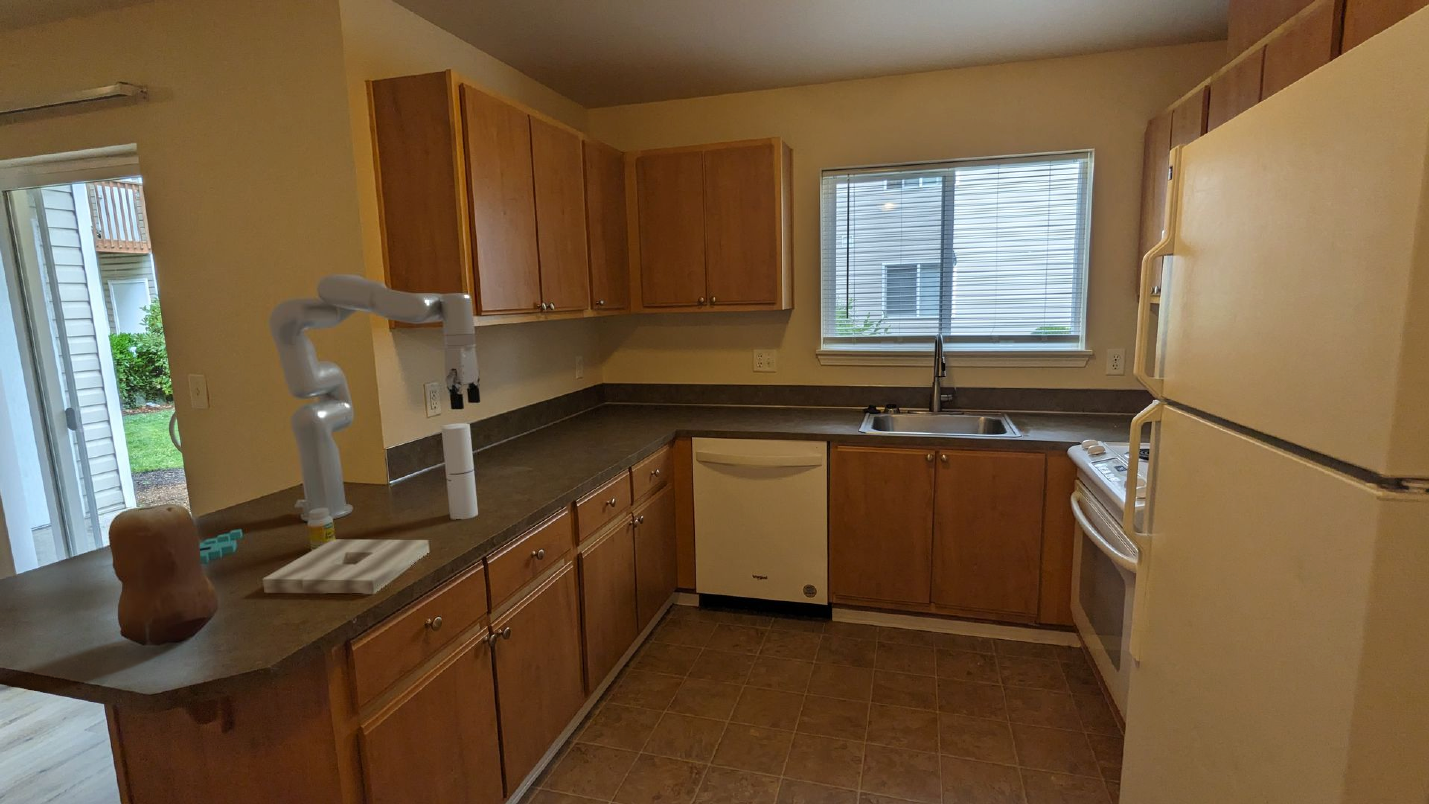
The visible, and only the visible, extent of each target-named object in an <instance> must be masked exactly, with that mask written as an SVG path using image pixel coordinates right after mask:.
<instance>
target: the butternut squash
mask: <svg viewBox="0 0 1429 804" xmlns="http://www.w3.org/2000/svg"><path fill="white" fill-rule="evenodd" d="M195 525H196V524H195V522H194V519H193V517H192V514H191V512H190V511H189V510H188V509H187V508H186V507H185V506H182V505H180V504H177V503H164V504H158V505H154V506H153V505H151V506H147V507H146V506H145V507H134V508H130V509H127V510H123V511H121V512H120V513H119V514H117V515H115V517H114V518H113V519H112V521H111V522H110V525H109V528H108V541H109V543H108V544H109V548H110V550H111V556H112V568H113V570H114V572H115V576H116V578H117V579H118V581H120V582H121V593H120V596H119V601H118V604H117V620H118V621H117V622H118V625H119V626H118V627H119V628H120V630H119V633H120V636H121V637H123V638H124V639H127V640H129V641H132V642H135V644H138V645H140V646H162V645H163V646H164V645H165V644H166V645H167V644H176V643H178V642H179V643H183V642H184V641H186V640H188V639H190V638H193V637H194V636H196V634H198V633H199V632H200V631H201V630H202V629H203V628H205V626H206V625H207V624H208V623H209V622H210V621H211V619H213V618H214V616H215V615H216V613H217V610H218V609H219V602H218V593H217V590H216V589H215V586H214V584H212V582H211V581H210V579H209V578H208V576H207V575H206V574H205V573H204V570H203V567H202V564H201V562H200V556H201V555H200V544H199V543H200V539H199V534H198V531H197V529H196V526H195ZM182 641H183V642H182Z"/></svg>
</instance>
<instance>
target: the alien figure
mask: <svg viewBox="0 0 1429 804" xmlns="http://www.w3.org/2000/svg"><path fill="white" fill-rule="evenodd" d="M242 531H243V530H242V529H241V528H240V529H233V530H230V532H229V533H223V534H219V535H217V537H214V538H207V539H205V541H203V542H199V544H200V555H201V556H200V562H201V565H203V564H208V563H209V561H210V560H217V559H221V558H222V557H223V555H228V554H233V553H235V551H236V549H237V546H238V545H237V539H238V540H239V539H242V537H243V532H242Z"/></svg>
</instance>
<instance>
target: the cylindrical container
mask: <svg viewBox="0 0 1429 804" xmlns="http://www.w3.org/2000/svg"><path fill="white" fill-rule="evenodd" d="M440 428H441V429H440V430H441V437H442V438H441V439H442V446H443V447H442V448H443V457H444V466H445V467H444V468H445V476H446V488H447V498H448V507H449V517H450V519H451V520H456V519H461V520H467V519H471V518H474V517H477V516H478V514H479V512H478V511H479V509H478V499H477V489H476V488H477V487H476V478H475V465H474V456H473V448H472V447H473V446H472V433H471V425H470V424H469V423H464V422H463V423H461V422H459V423H452V424H451V423H450V424H446V425H442V426H441V427H440Z"/></svg>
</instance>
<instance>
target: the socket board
mask: <svg viewBox="0 0 1429 804" xmlns="http://www.w3.org/2000/svg"><path fill="white" fill-rule="evenodd" d="M427 553H428V554H429V553H430V543H429V540H428V539H351V538H349V539H339V538H338V539H332V540H330V541H329V542H327V543H325V544H323V545H322V546H320V547H318V548H316V549H315V550H313V551H312V550H311V551H309V552H308V553H306V554H304V555H302V556H300V557H299V558H297V559H295V560H293V561H292V562H290V563H288V564H286V565H285V566H283V567H280V568H279V569H277V570H276V571H273V572H272V573H271V574H269V575H267V576H265V577H264V578H262V584H263V590H264V593H267V594H269V593H270V594H273V593H275V594H283V593H284V594H326V593H363V594H362V595H375V594H377V593H378V592H380V590H382V589H383V588H384V587H386V586H387V585H388V584H390V583H391V582H392V581H393V580H395V579H396V578H398V577H399V576H400V575H402V574H403V573H404V572H406V570H408V569H409V568H410V567H412V566H413V565H415V564H416V563H418V562H419V561H420V560H421V559H422V558H424V557H425V556H427V555H428V554H427ZM423 556H424V557H423ZM419 559H420V560H419ZM418 560H419V561H418ZM415 562H416V563H415ZM414 563H415V564H414ZM411 565H412V566H411ZM385 585H386V586H385ZM381 588H382V589H381ZM377 591H378V592H377Z"/></svg>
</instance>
